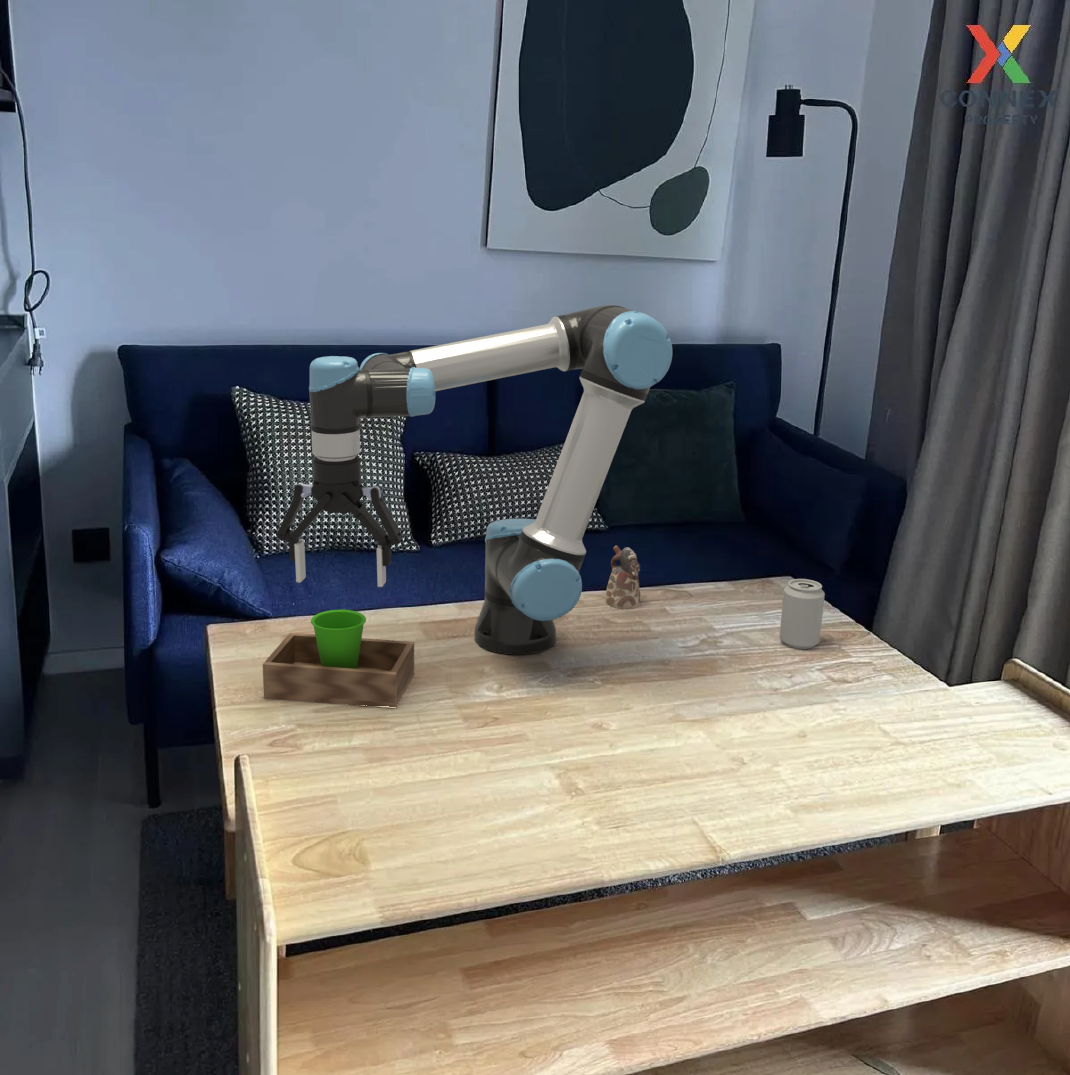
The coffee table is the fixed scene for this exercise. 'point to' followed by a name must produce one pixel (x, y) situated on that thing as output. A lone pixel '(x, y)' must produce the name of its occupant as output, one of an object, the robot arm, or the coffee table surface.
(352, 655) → the cup
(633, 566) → the figurine
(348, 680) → the tray
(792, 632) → the can
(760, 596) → the coffee table surface
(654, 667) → the coffee table surface
